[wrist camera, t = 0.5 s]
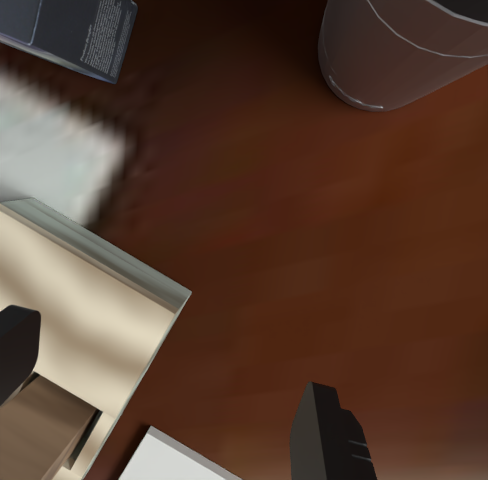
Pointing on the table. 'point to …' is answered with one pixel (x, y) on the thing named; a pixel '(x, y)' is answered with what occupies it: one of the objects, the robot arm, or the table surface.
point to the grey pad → (170, 461)
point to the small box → (71, 32)
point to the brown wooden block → (41, 430)
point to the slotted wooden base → (84, 313)
